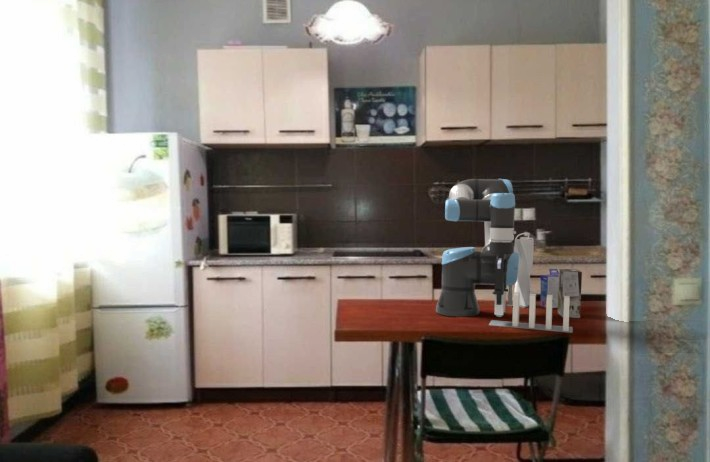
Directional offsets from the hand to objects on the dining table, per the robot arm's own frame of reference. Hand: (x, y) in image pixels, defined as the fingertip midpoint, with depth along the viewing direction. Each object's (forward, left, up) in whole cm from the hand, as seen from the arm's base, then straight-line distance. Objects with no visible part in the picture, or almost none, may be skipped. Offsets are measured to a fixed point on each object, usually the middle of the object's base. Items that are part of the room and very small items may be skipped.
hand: (499, 312), depth 177 cm
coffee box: (+21, +26, -4) cm, 34 cm away
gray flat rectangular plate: (+9, 0, -4) cm, 10 cm away
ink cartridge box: (+16, +41, -4) cm, 44 cm away
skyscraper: (+4, +38, -4) cm, 39 cm away
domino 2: (+10, 0, -3) cm, 11 cm away
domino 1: (+5, 0, -3) cm, 6 cm away
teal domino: (0, 0, -1) cm, 1 cm away
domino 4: (+20, 0, -3) cm, 20 cm away
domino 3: (+15, 0, -3) cm, 15 cm away
